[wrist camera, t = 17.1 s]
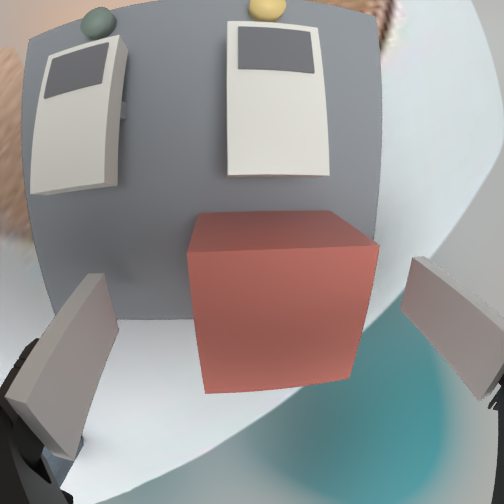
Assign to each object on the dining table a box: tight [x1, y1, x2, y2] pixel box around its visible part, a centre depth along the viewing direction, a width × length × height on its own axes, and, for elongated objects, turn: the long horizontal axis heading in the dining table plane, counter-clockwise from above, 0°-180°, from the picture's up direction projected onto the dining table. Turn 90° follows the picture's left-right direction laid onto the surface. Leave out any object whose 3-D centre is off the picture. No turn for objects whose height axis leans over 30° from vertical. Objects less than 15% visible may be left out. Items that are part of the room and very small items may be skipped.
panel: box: [21, 0, 382, 320], centre depth 13 cm, size 17×19×4 cm
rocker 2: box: [226, 21, 330, 178], centre depth 10 cm, size 6×4×2 cm, turn 0°
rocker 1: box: [30, 35, 128, 195], centre depth 9 cm, size 6×4×2 cm, turn 0°
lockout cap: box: [187, 210, 380, 394], centre depth 12 cm, size 6×6×5 cm
